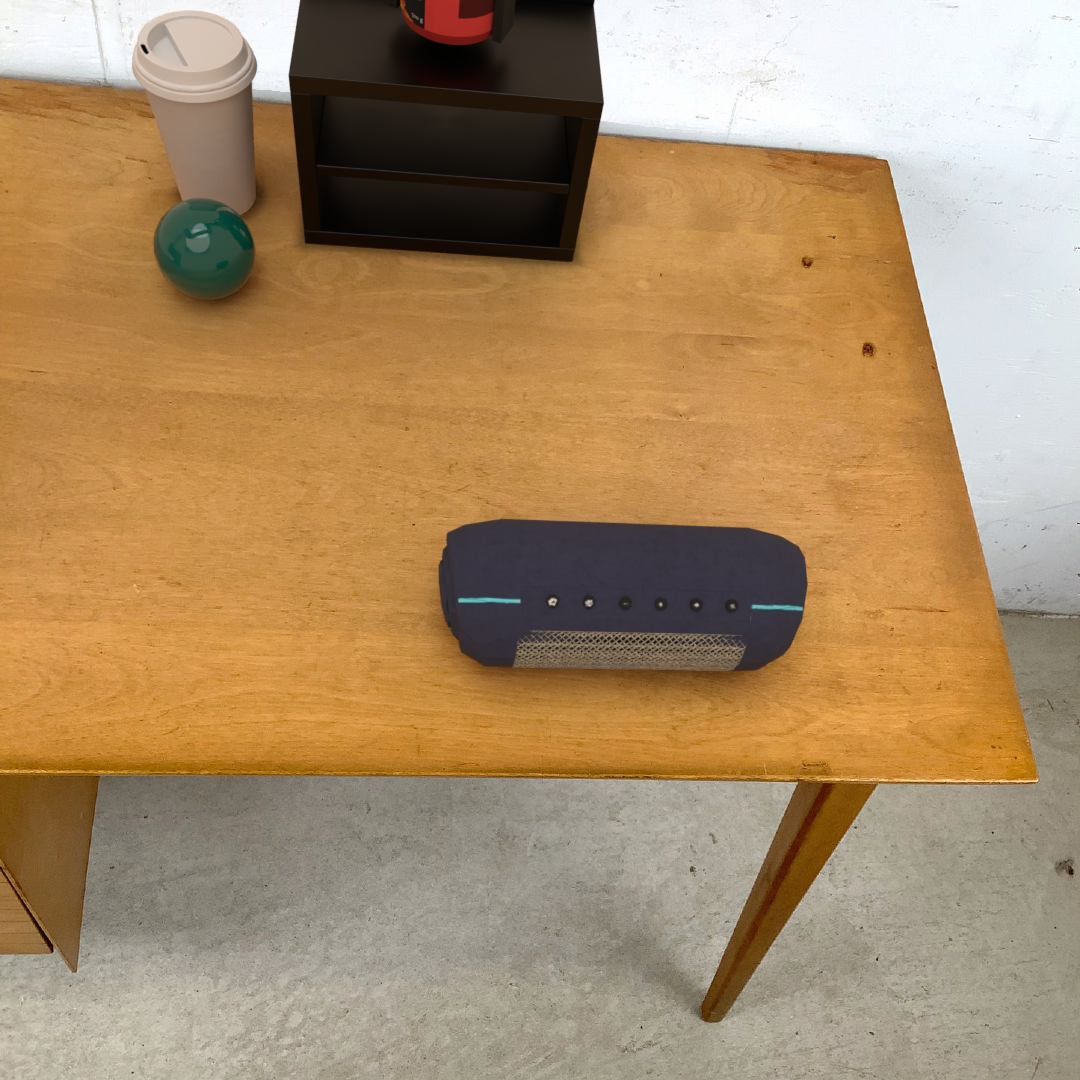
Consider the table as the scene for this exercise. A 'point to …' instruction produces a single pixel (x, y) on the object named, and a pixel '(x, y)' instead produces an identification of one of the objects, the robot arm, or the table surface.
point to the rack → (445, 130)
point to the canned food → (450, 19)
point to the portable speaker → (621, 595)
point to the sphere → (204, 248)
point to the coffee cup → (201, 103)
